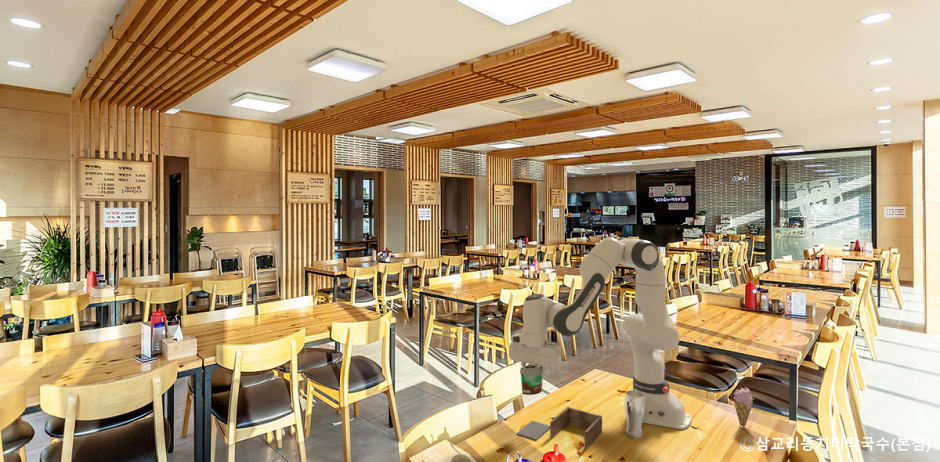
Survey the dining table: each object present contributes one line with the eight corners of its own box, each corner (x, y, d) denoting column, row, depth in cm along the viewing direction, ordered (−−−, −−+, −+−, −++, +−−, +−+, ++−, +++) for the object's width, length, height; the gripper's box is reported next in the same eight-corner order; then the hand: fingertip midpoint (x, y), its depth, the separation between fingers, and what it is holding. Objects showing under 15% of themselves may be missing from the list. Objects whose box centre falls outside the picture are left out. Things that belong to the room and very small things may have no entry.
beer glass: (621, 429, 171) (622, 389, 170) (640, 429, 170) (641, 390, 170) (627, 438, 164) (628, 397, 163) (647, 438, 163) (648, 397, 163)
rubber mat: (551, 427, 172) (551, 426, 172) (536, 440, 162) (536, 439, 162) (532, 421, 177) (532, 420, 177) (516, 434, 167) (516, 433, 167)
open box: (601, 431, 169) (602, 415, 168) (586, 449, 156) (586, 432, 156) (567, 421, 177) (567, 406, 176) (550, 438, 164) (550, 421, 164)
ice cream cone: (757, 429, 170) (758, 390, 170) (745, 432, 168) (746, 392, 167) (740, 421, 176) (741, 383, 176) (729, 424, 174) (730, 386, 173)
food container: (535, 398, 161) (535, 370, 161) (520, 395, 165) (519, 367, 165) (550, 387, 172) (550, 361, 171) (535, 384, 175) (535, 358, 175)
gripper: (564, 341, 164) (564, 379, 165) (515, 332, 176) (515, 367, 177) (557, 345, 159) (557, 384, 160) (506, 336, 171) (506, 372, 172)
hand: (534, 375), depth 168 cm, fingers closed on food container, 5 cm apart
